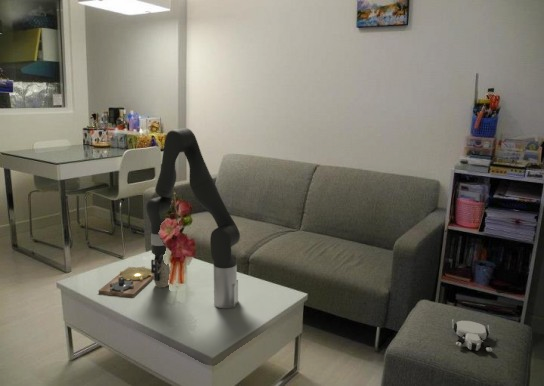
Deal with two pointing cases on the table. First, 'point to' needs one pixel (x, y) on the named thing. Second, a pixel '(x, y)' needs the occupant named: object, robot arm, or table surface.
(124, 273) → the gear board
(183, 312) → the table surface
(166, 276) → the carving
